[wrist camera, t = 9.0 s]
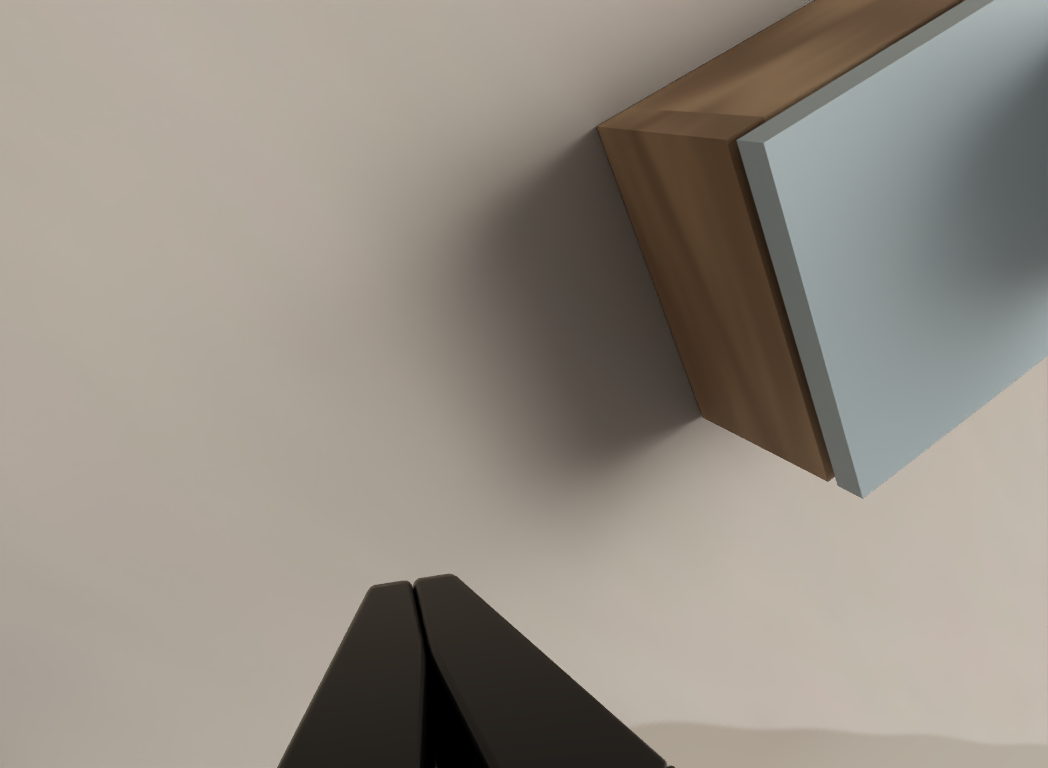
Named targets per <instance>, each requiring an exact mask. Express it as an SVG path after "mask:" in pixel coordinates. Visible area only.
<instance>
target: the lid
mask: <svg viewBox="0 0 1048 768" xmlns="http://www.w3.org/2000/svg"><path fill="white" fill-rule="evenodd" d="M737 144H738V147H739V150H740V154H741V157H742V161H743V164H744V168H745V171H746V174H747V178H748V181H749V185H750V188H751V191H752V195H753V198H754V202H755V205H756V208H757V212H758V215H759V219H760V222H761V226H762V229H763V232H764V236H765V239H766V243H767V246H768V249H769V253H770V256H771V260H772V263H773V266H774V270H775V273H776V277H777V280H778V283H779V287H780V290H781V294H782V297H783V301H784V304H785V307H786V311H787V314H788V318H789V321H790V324H791V328H792V331H793V335H794V338H795V341H796V345H797V348H798V352H799V355H800V358H801V362H802V365H803V369H804V372H805V376H806V379H807V382H808V386H809V389H810V393H811V396H812V399H813V403H814V406H815V410H816V413H817V416H818V420H819V423H820V427H821V430H822V434H823V437H824V440H825V444H826V447H827V451H828V454H829V457H830V461H831V464H832V468H833V471H834V474H835V478H836V481H837V485H838V486H839V487H841V488H843V489H845V490H847V491H849V492H851V493H853V494H855V495H857V496H859V497H861V498H864V497H866V496H867V495H868V494H870V493H871V492H872V491H874V490H875V489H876V488H877V487H879V486H880V485H881V484H883V483H884V482H885V481H886V480H888V479H889V478H890V477H892V476H893V475H894V474H896V473H897V472H898V471H899V470H901V469H902V468H903V467H905V466H906V465H907V464H908V463H910V462H911V461H912V460H914V459H915V458H916V457H918V456H919V455H920V454H921V453H923V452H924V451H925V450H927V449H928V448H929V447H930V446H932V445H933V444H934V443H936V442H937V441H938V440H940V439H941V438H942V437H943V436H945V435H946V434H947V433H949V432H950V431H951V430H953V429H954V428H955V427H956V426H958V425H959V424H960V423H962V422H963V421H964V420H965V419H967V418H968V417H969V416H971V415H972V414H973V413H975V412H976V411H977V410H978V409H980V408H981V407H982V406H984V405H985V404H986V403H987V402H989V401H990V400H991V399H993V398H994V397H995V396H997V395H998V394H999V393H1000V392H1002V391H1003V390H1004V389H1006V388H1007V387H1008V386H1009V385H1011V384H1012V383H1013V382H1015V381H1016V380H1017V379H1019V378H1020V377H1021V376H1022V375H1024V374H1025V373H1026V372H1028V371H1029V370H1030V369H1031V368H1033V367H1034V366H1035V365H1037V364H1038V363H1039V362H1041V361H1042V360H1043V359H1044V358H1046V357H1047V356H1048V0H965V1H963V2H962V3H960V4H958V5H957V6H955V7H954V8H952V9H950V10H949V11H947V12H945V13H944V14H942V15H940V16H939V17H937V18H936V19H934V20H932V21H931V22H929V23H927V24H926V25H924V26H922V27H921V28H919V29H918V30H916V31H914V32H913V33H911V34H909V35H908V36H906V37H904V38H903V39H901V40H900V41H898V42H896V43H895V44H893V45H891V46H890V47H888V48H886V49H885V50H883V51H882V52H880V53H878V54H877V55H875V56H873V57H872V58H870V59H868V60H867V61H865V62H864V63H862V64H860V65H859V66H857V67H855V68H854V69H852V70H850V71H849V72H847V73H846V74H844V75H842V76H841V77H839V78H837V79H836V80H834V81H832V82H831V83H829V84H828V85H826V86H824V87H823V88H821V89H819V90H818V91H816V92H814V93H813V94H811V95H810V96H808V97H806V98H805V99H803V100H801V101H800V102H798V103H796V104H795V105H793V106H792V107H790V108H788V109H787V110H785V111H783V112H782V113H780V114H778V115H777V116H775V117H774V118H772V119H770V120H769V121H767V122H765V123H764V124H762V125H760V126H759V127H757V128H756V129H754V130H752V131H751V132H749V133H747V134H746V135H744V136H742V137H741V138H739V139H737Z"/></svg>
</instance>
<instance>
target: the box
mask: <svg viewBox="0 0 1048 768" xmlns="http://www.w3.org/2000/svg"><path fill="white" fill-rule="evenodd" d="M963 1H965V0H815V1H813V2H811V3H810V4H808V5H806V6H804V7H803V8H801V9H799V10H797V11H796V12H794V13H792V14H791V15H789V16H787V17H785V18H784V19H782V20H780V21H778V22H777V23H775V24H773V25H771V26H770V27H768V28H766V29H765V30H763V31H761V32H759V33H758V34H756V35H754V36H752V37H751V38H749V39H747V40H745V41H744V42H742V43H740V44H739V45H737V46H735V47H733V48H732V49H730V50H728V51H726V52H725V53H723V54H721V55H720V56H718V57H716V58H714V59H713V60H711V61H709V62H707V63H706V64H704V65H702V66H700V67H699V68H697V69H695V70H694V71H692V72H690V73H688V74H687V75H685V76H683V77H681V78H680V79H678V80H676V81H674V82H673V83H671V84H669V85H668V86H666V87H664V88H662V89H661V90H659V91H657V92H655V93H654V94H652V95H650V96H649V97H647V98H645V99H643V100H642V101H640V102H638V103H636V104H635V105H633V106H631V107H629V108H628V109H626V110H624V111H623V112H621V113H619V114H617V115H616V116H614V117H612V118H610V119H609V120H607V121H605V122H603V123H602V124H600V125H598V126H597V129H598V132H599V135H600V137H601V140H602V143H603V146H604V148H605V151H606V154H607V157H608V159H609V162H610V165H611V168H612V170H613V173H614V176H615V178H616V181H617V184H618V187H619V189H620V192H621V195H622V198H623V200H624V203H625V206H626V209H627V211H628V214H629V217H630V220H631V222H632V225H633V228H634V230H635V233H636V236H637V239H638V241H639V244H640V247H641V250H642V252H643V255H644V258H645V261H646V263H647V266H648V269H649V272H650V274H651V277H652V280H653V282H654V285H655V288H656V291H657V293H658V296H659V299H660V302H661V304H662V307H663V310H664V313H665V315H666V318H667V321H668V324H669V326H670V329H671V332H672V334H673V337H674V340H675V343H676V345H677V348H678V351H679V354H680V356H681V359H682V362H683V365H684V367H685V370H686V373H687V376H688V378H689V381H690V384H691V387H692V389H693V392H694V395H695V397H696V400H697V403H698V406H699V408H700V411H701V414H702V417H703V418H705V419H707V420H709V421H711V422H713V423H715V424H717V425H719V426H721V427H723V428H725V429H726V430H728V431H730V432H732V433H734V434H736V435H738V436H740V437H742V438H744V439H746V440H748V441H750V442H752V443H754V444H756V445H758V446H760V447H761V448H763V449H765V450H767V451H769V452H771V453H773V454H775V455H777V456H779V457H781V458H783V459H785V460H787V461H789V462H791V463H793V464H794V465H796V466H798V467H800V468H802V469H804V470H806V471H808V472H810V473H812V474H814V475H816V476H818V477H820V478H822V479H824V480H826V481H827V482H828V481H830V480H831V479H832V478H834V477H835V474H834V471H833V468H832V464H831V461H830V457H829V454H828V451H827V447H826V444H825V440H824V437H823V434H822V430H821V427H820V423H819V420H818V416H817V413H816V410H815V406H814V403H813V399H812V396H811V393H810V389H809V386H808V382H807V379H806V376H805V372H804V369H803V365H802V362H801V358H800V355H799V352H798V348H797V345H796V341H795V338H794V335H793V331H792V328H791V324H790V321H789V318H788V314H787V311H786V307H785V304H784V301H783V297H782V294H781V290H780V287H779V283H778V280H777V277H776V273H775V270H774V266H773V263H772V260H771V256H770V253H769V249H768V246H767V243H766V239H765V236H764V232H763V229H762V226H761V222H760V219H759V215H758V212H757V208H756V205H755V202H754V198H753V195H752V191H751V188H750V185H749V181H748V178H747V174H746V171H745V168H744V164H743V161H742V157H741V154H740V150H739V147H738V144H737V139H739V138H741V137H742V136H744V135H746V134H747V133H749V132H751V131H752V130H754V129H756V128H757V127H759V126H760V125H762V124H764V123H765V122H767V121H769V120H770V119H772V118H774V117H775V116H777V115H778V114H780V113H782V112H783V111H785V110H787V109H788V108H790V107H792V106H793V105H795V104H796V103H798V102H800V101H801V100H803V99H805V98H806V97H808V96H810V95H811V94H813V93H814V92H816V91H818V90H819V89H821V88H823V87H824V86H826V85H828V84H829V83H831V82H832V81H834V80H836V79H837V78H839V77H841V76H842V75H844V74H846V73H847V72H849V71H850V70H852V69H854V68H855V67H857V66H859V65H860V64H862V63H864V62H865V61H867V60H868V59H870V58H872V57H873V56H875V55H877V54H878V53H880V52H882V51H883V50H885V49H886V48H888V47H890V46H891V45H893V44H895V43H896V42H898V41H900V40H901V39H903V38H904V37H906V36H908V35H909V34H911V33H913V32H914V31H916V30H918V29H919V28H921V27H922V26H924V25H926V24H927V23H929V22H931V21H932V20H934V19H936V18H937V17H939V16H940V15H942V14H944V13H945V12H947V11H949V10H950V9H952V8H954V7H955V6H957V5H958V4H960V3H962V2H963Z"/></svg>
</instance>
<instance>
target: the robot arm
mask: <svg viewBox="0 0 1048 768" xmlns="http://www.w3.org/2000/svg"><path fill="white" fill-rule="evenodd" d="M277 768H675V767H674V766H668V767H667V763H666V761H665V760H664V759H663V758H662V757H661V756H660V755H658V754H657V753H656V752H655V751H654V750H653V749H651V748H650V747H649V746H648V745H647V744H646V743H645V742H644V741H643V740H641V739H640V738H639V737H638V736H637V735H636V734H634V733H633V732H632V731H631V730H630V729H629V728H628V727H627V726H626V725H624V724H623V723H622V722H621V721H620V720H619V719H618V718H616V717H615V716H614V715H613V714H612V713H611V712H610V711H609V710H607V709H606V708H605V707H604V706H603V705H602V704H601V703H599V702H598V701H597V700H596V699H595V698H594V697H593V696H592V695H590V694H589V693H588V692H587V691H586V690H585V689H584V688H582V687H581V686H580V685H579V684H578V683H577V682H576V681H575V680H573V679H572V678H571V677H570V676H569V675H568V674H567V673H565V672H564V671H563V670H562V669H561V668H560V667H559V666H558V665H556V664H555V663H554V662H553V661H552V660H551V659H550V658H548V657H547V656H546V655H545V654H544V653H543V652H542V651H541V650H539V649H538V648H537V647H536V646H535V645H534V644H533V643H531V642H530V641H529V640H528V639H527V638H526V637H525V636H523V635H522V634H521V633H520V632H519V631H518V630H517V629H516V628H514V627H513V626H512V625H511V624H510V623H509V622H508V621H506V620H505V619H504V618H503V617H502V616H501V615H500V614H499V613H497V612H496V611H495V610H494V609H493V608H492V607H491V606H489V605H488V604H487V603H486V602H485V601H484V600H483V599H482V598H480V597H479V596H478V595H477V594H476V593H475V592H474V591H472V590H471V589H470V588H469V587H468V586H467V585H466V584H465V583H463V582H462V581H461V580H460V579H459V578H458V577H457V576H455V575H453V574H444V575H437V576H431V577H424V578H419V579H417V580H416V581H415V582H414V584H413V587H412V584H411V583H410V582H408V581H398V582H391V583H385V584H378V585H374V586H372V587H370V589H369V590H368V592H367V593H366V595H365V597H364V599H363V601H362V603H361V605H360V607H359V609H358V611H357V613H356V615H355V617H354V619H353V620H352V622H351V624H350V626H349V628H348V630H347V632H346V634H345V636H344V638H343V640H342V642H341V644H340V646H339V648H338V650H337V652H336V654H335V656H334V658H333V660H332V661H331V663H330V665H329V667H328V669H327V671H326V673H325V675H324V677H323V679H322V681H321V683H320V685H319V687H318V689H317V691H316V693H315V695H314V697H313V699H312V701H311V702H310V704H309V706H308V708H307V710H306V712H305V714H304V716H303V718H302V720H301V722H300V724H299V726H298V728H297V730H296V732H295V734H294V736H293V738H292V740H291V742H290V743H289V745H288V747H287V749H286V751H285V753H284V755H283V757H282V759H281V761H280V763H279V765H278V767H277Z"/></svg>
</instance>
